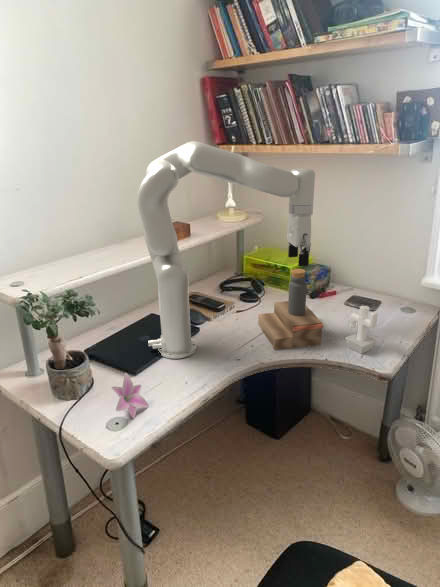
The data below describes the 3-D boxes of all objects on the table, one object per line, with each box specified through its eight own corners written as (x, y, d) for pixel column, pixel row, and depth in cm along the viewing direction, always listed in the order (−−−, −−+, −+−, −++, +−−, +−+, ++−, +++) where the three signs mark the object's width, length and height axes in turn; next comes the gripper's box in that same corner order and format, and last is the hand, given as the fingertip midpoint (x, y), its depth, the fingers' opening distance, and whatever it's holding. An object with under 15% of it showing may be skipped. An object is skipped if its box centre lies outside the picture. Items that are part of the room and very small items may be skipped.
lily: (111, 430, 115) (124, 407, 111) (95, 397, 121) (106, 374, 117) (147, 423, 123) (160, 401, 119) (130, 392, 129) (142, 370, 125)
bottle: (285, 313, 156) (287, 272, 150) (291, 307, 161) (292, 267, 155) (302, 316, 153) (304, 274, 148) (307, 310, 158) (309, 269, 152)
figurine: (356, 340, 154) (360, 299, 148) (379, 351, 146) (384, 308, 141) (341, 346, 150) (344, 304, 144) (364, 358, 143) (368, 314, 137)
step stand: (275, 351, 148) (275, 328, 145) (258, 324, 167) (258, 304, 164) (321, 345, 151) (323, 323, 148) (299, 319, 170) (300, 299, 167)
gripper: (280, 204, 151) (278, 254, 157) (299, 215, 135) (296, 270, 142) (302, 203, 152) (299, 253, 159) (322, 214, 137) (319, 268, 143)
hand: (297, 261), depth 150 cm, fingers open, 9 cm apart
